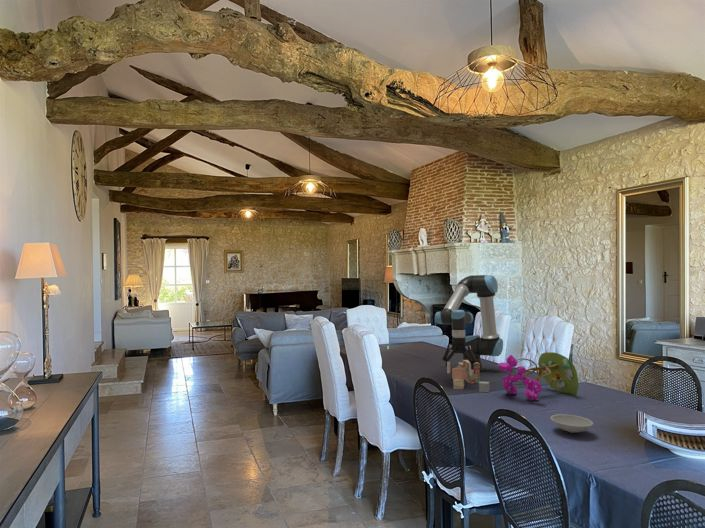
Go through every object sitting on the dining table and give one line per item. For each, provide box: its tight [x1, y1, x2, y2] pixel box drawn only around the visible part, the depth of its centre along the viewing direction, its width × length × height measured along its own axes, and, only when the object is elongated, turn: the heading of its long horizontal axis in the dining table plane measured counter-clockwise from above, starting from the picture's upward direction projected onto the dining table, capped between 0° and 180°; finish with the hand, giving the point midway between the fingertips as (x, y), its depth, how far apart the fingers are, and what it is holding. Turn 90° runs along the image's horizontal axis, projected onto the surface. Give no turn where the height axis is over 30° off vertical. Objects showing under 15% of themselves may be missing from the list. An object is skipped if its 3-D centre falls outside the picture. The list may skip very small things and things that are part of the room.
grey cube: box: [478, 380, 490, 394], centre depth 277 cm, size 5×5×5 cm
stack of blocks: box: [457, 359, 481, 385], centre depth 308 cm, size 21×6×12 cm, turn 8°
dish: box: [550, 413, 594, 434], centre depth 202 cm, size 18×14×5 cm
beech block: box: [452, 379, 465, 390], centre depth 289 cm, size 9×6×5 cm, turn 164°
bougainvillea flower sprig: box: [497, 351, 579, 401], centre depth 264 cm, size 30×28×35 cm
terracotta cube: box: [451, 366, 466, 380], centre depth 289 cm, size 6×6×6 cm
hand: (459, 374), depth 290 cm, fingers open, 13 cm apart
